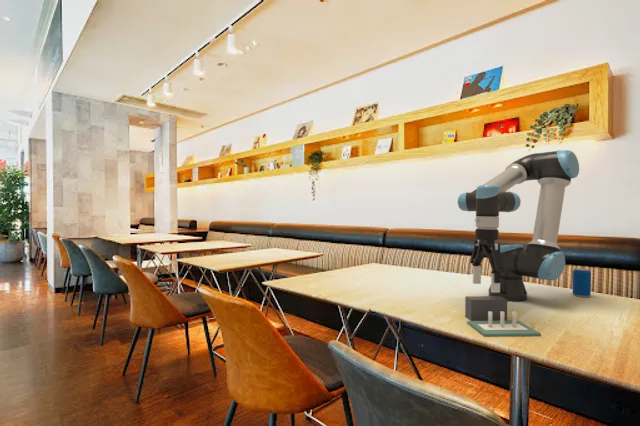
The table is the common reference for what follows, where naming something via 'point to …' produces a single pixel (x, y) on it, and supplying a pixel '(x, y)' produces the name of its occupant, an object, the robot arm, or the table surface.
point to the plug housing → (485, 307)
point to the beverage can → (581, 282)
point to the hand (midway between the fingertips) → (485, 287)
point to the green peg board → (503, 327)
